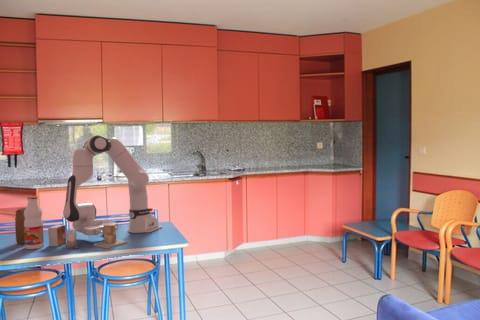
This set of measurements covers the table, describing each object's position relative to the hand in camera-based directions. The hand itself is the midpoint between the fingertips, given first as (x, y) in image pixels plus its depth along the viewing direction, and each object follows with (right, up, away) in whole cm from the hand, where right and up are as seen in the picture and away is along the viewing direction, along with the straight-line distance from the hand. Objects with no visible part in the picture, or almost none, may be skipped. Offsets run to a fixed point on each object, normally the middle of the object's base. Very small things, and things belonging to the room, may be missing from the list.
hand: (110, 230), depth 233 cm
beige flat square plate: (0, -8, +1) cm, 8 cm away
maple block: (0, -7, 0) cm, 7 cm away
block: (-50, -8, +6) cm, 51 cm away
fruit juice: (-40, -9, -4) cm, 41 cm away
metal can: (-19, -9, -6) cm, 22 cm away
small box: (-30, -9, +1) cm, 31 cm away
